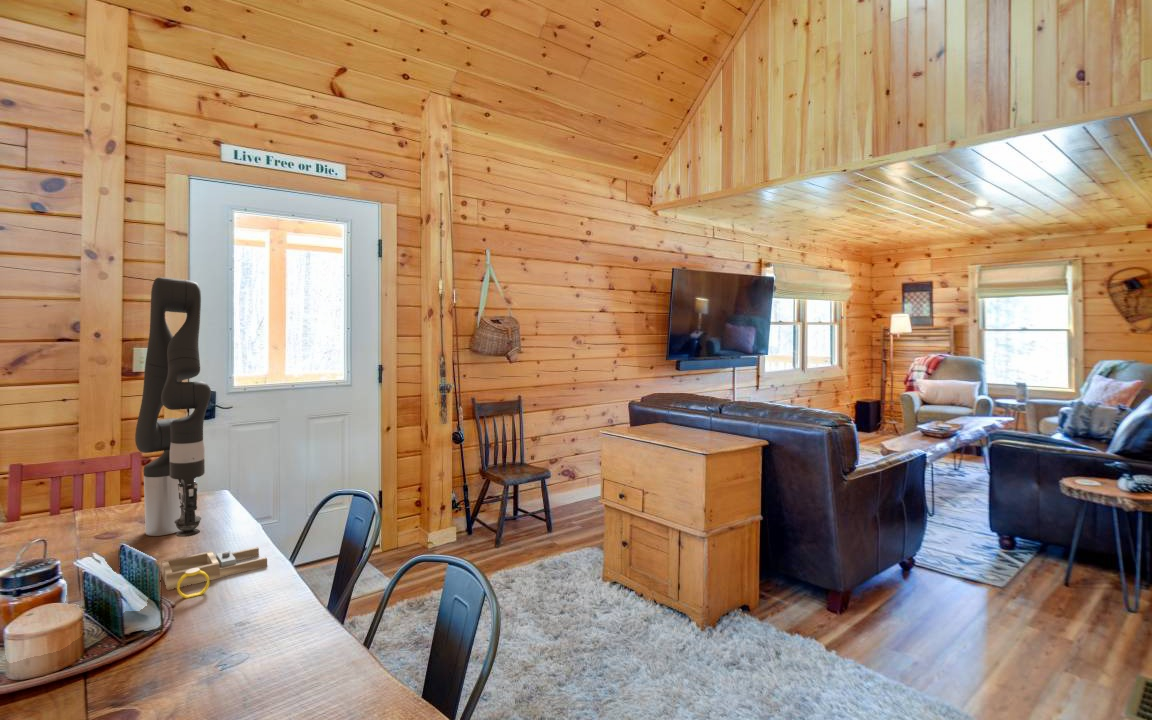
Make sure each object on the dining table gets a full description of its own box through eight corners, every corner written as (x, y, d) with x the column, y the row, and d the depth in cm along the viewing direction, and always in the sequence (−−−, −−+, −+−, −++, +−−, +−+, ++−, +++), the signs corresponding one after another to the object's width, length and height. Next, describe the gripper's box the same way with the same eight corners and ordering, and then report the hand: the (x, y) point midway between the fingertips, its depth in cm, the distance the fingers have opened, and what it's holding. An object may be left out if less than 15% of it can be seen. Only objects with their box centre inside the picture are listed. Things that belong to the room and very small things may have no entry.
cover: (216, 565, 145) (216, 550, 145) (230, 562, 147) (229, 547, 147) (222, 574, 140) (221, 559, 140) (236, 571, 142) (235, 555, 142)
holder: (161, 575, 139) (161, 561, 139) (257, 554, 153) (257, 541, 153) (167, 590, 131) (166, 575, 131) (267, 566, 145) (267, 552, 145)
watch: (179, 603, 126) (175, 577, 126) (178, 598, 128) (175, 572, 128) (211, 593, 130) (208, 568, 129) (209, 589, 132) (206, 564, 132)
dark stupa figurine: (187, 538, 147) (187, 492, 146) (168, 535, 148) (168, 490, 147) (206, 530, 152) (206, 486, 152) (188, 528, 154) (188, 484, 153)
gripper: (208, 462, 146) (209, 526, 147) (200, 451, 157) (200, 511, 158) (172, 466, 141) (173, 533, 142) (166, 454, 152) (167, 516, 153)
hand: (188, 521), depth 150 cm, fingers closed on dark stupa figurine, 6 cm apart
